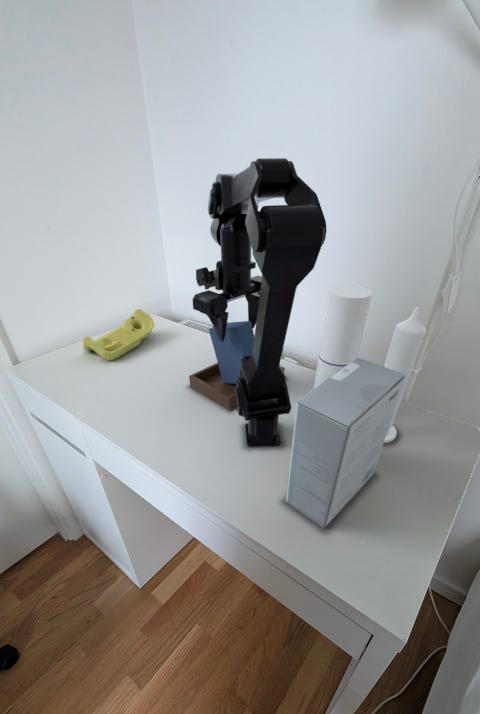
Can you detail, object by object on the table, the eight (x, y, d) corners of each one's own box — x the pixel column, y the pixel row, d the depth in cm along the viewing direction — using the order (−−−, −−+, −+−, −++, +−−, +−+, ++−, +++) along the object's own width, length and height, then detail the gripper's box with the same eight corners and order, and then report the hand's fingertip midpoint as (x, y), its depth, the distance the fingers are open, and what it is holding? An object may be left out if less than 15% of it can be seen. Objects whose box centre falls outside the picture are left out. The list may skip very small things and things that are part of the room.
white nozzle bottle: (379, 417, 71) (418, 296, 55) (403, 438, 66) (454, 311, 50) (351, 425, 69) (383, 302, 53) (373, 447, 64) (417, 318, 48)
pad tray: (244, 360, 91) (244, 349, 89) (283, 378, 83) (284, 367, 81) (190, 387, 81) (188, 375, 79) (229, 410, 73) (229, 398, 71)
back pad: (263, 377, 77) (251, 320, 72) (250, 385, 75) (236, 327, 69) (235, 375, 83) (222, 322, 78) (223, 382, 81) (208, 328, 75)
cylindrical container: (305, 403, 75) (321, 287, 59) (333, 397, 77) (357, 283, 61) (320, 422, 70) (343, 300, 54) (350, 415, 71) (381, 295, 56)
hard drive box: (335, 453, 63) (358, 356, 50) (373, 474, 58) (409, 374, 46) (283, 502, 54) (295, 399, 41) (324, 531, 50) (351, 426, 37)
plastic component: (109, 356, 88) (81, 332, 89) (108, 374, 94) (82, 352, 94) (161, 325, 100) (135, 304, 100) (157, 342, 106) (133, 323, 106)
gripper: (240, 242, 73) (240, 313, 83) (170, 257, 63) (180, 336, 73) (280, 250, 67) (275, 326, 77) (209, 268, 57) (214, 353, 67)
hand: (236, 334), depth 74 cm, fingers open, 9 cm apart
